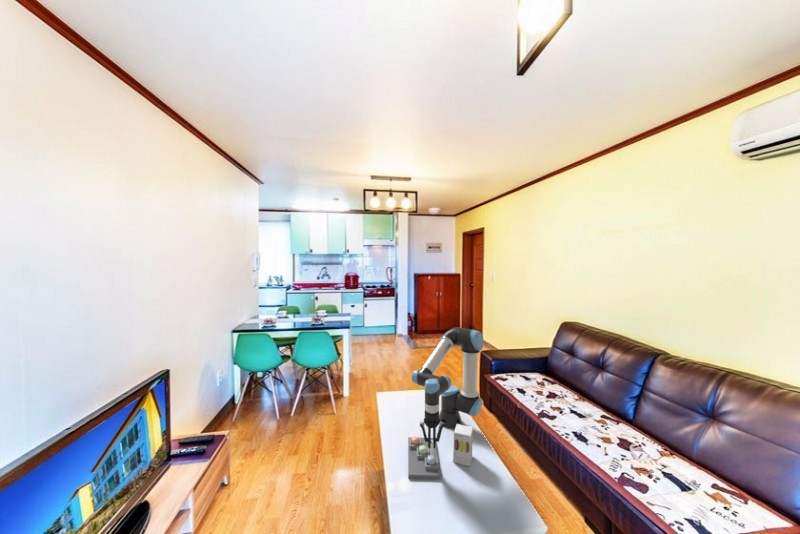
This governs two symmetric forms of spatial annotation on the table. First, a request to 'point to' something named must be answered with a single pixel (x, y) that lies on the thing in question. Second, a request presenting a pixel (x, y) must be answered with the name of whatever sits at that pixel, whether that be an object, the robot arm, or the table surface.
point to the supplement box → (463, 445)
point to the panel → (421, 462)
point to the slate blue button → (431, 460)
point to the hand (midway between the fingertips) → (431, 453)
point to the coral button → (414, 440)
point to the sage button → (422, 450)
